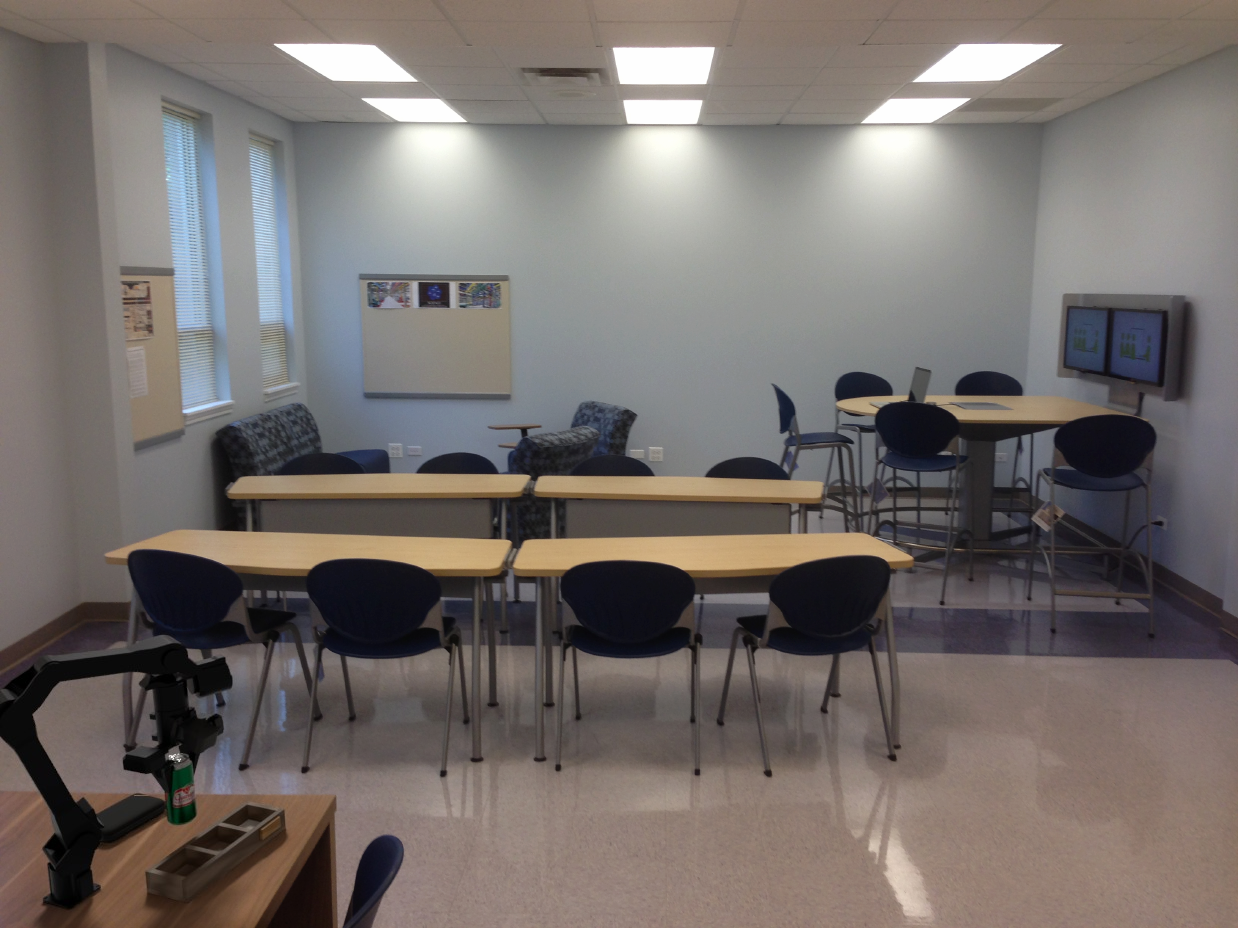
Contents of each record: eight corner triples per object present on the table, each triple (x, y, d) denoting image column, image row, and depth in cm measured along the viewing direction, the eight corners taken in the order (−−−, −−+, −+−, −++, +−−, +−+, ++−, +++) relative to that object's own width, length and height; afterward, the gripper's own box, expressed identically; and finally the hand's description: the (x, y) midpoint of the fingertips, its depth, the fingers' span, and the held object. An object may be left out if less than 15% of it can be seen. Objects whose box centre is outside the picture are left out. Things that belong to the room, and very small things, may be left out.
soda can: (176, 829, 174) (170, 768, 172) (162, 820, 177) (155, 760, 175) (203, 817, 178) (197, 756, 176) (188, 809, 181) (182, 749, 179)
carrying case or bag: (134, 800, 198) (69, 836, 184) (133, 786, 197) (67, 822, 184) (173, 811, 194) (108, 849, 180) (171, 797, 193) (107, 834, 180)
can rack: (147, 891, 166) (145, 870, 166) (248, 819, 190) (246, 800, 189) (191, 903, 163) (189, 881, 163) (288, 828, 186) (286, 809, 186)
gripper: (166, 733, 162) (175, 818, 165) (243, 690, 180) (250, 768, 182) (116, 724, 166) (125, 808, 169) (196, 683, 183) (203, 759, 186)
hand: (179, 785), depth 176 cm, fingers closed on soda can, 5 cm apart
